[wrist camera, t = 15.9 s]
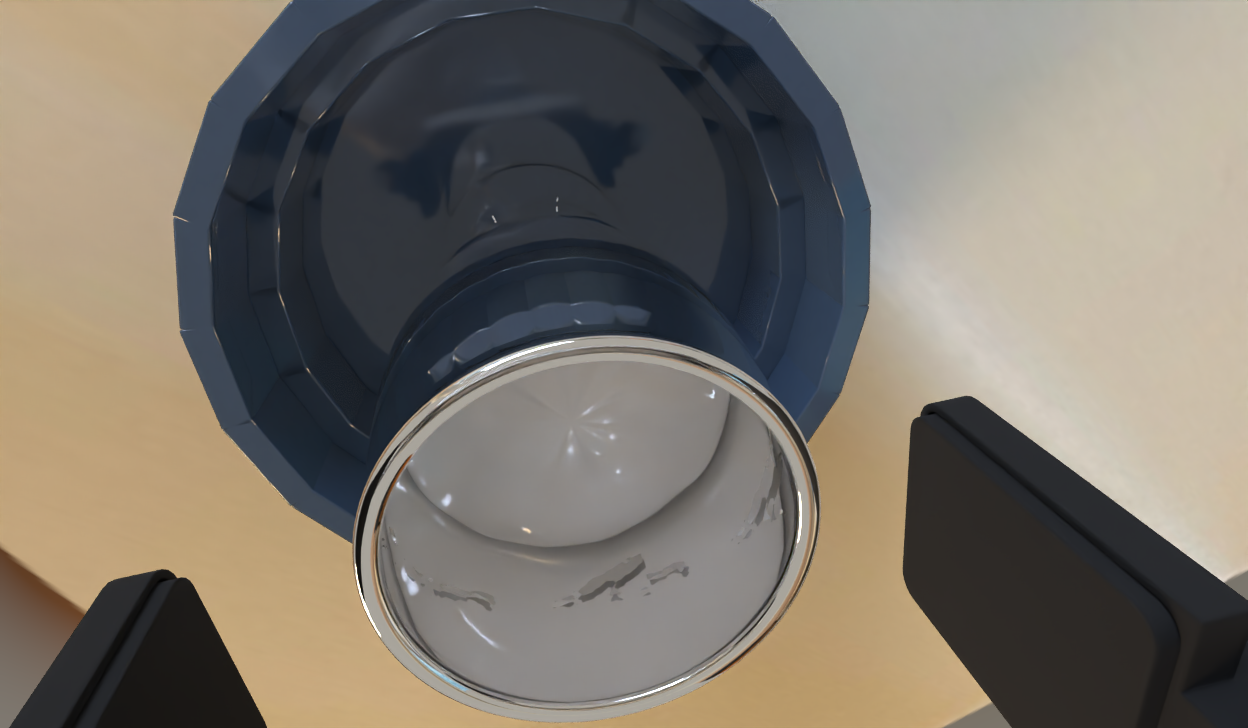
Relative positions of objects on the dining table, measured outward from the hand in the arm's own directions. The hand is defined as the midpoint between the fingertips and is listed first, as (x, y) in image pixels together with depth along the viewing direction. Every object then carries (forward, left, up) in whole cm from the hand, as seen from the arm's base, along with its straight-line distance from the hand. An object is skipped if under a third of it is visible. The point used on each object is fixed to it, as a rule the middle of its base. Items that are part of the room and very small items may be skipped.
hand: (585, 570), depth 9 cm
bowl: (0, 0, -16) cm, 16 cm away
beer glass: (0, 0, -16) cm, 16 cm away
